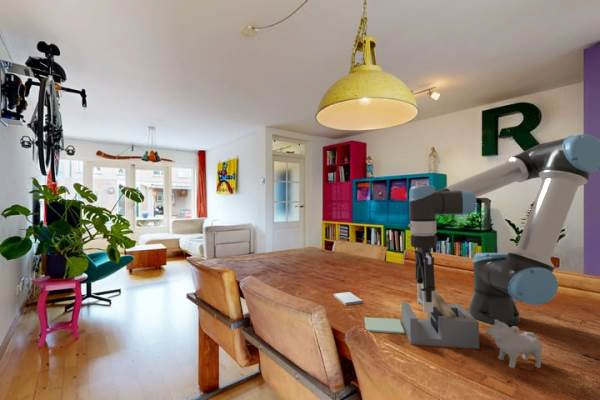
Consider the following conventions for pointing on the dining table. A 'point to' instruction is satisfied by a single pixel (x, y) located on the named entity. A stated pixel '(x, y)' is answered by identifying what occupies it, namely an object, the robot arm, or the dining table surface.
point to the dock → (441, 328)
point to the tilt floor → (428, 312)
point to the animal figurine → (515, 343)
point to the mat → (384, 325)
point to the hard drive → (348, 298)
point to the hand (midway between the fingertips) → (425, 307)
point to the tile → (441, 304)
